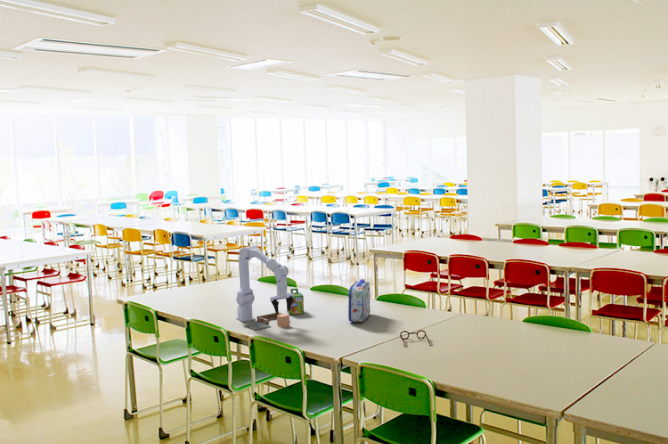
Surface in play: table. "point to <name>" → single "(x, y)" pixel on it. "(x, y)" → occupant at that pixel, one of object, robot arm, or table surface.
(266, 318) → the walnut stall
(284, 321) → the terracotta block
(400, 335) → the glasses
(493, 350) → the table surface
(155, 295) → the table surface
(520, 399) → the table surface
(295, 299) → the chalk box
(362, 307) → the lunch box
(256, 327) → the slate mat
